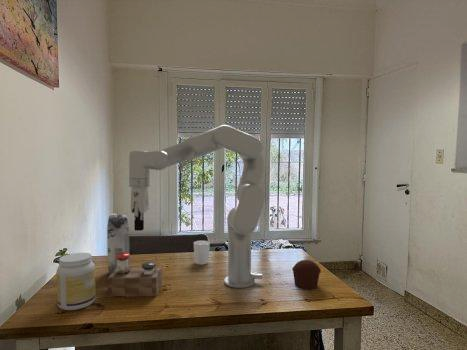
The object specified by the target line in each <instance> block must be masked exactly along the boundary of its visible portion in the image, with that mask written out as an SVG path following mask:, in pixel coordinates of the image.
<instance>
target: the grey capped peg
mask: <svg viewBox="0 0 467 350" xmlns="http://www.w3.org/2000/svg"><path fill="white" fill-rule="evenodd" d="M156 265H157V264H156V262H155V261H145V262H142V263H141V267H142V268H143V271H144V274H154V268H155V267H157V266H156Z"/></svg>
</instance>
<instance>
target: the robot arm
mask: <svg viewBox="0 0 467 350" xmlns="http://www.w3.org/2000/svg"><path fill="white" fill-rule="evenodd" d="M222 149H227V150H229V151H231V152H233V153H236V154H238V156H239V157H240V158H241V159H242V163H243V166H242V172H241V177H240V179H239V183H238V186H237V188H236V194H235V195H236V199H237V200H238V204H237V206H234V207H233V208H231V209H230V211H229V212H228V214H227V220H226V221H227V236H228V237H227V238H228V241H227V243H228V246H227V248H228V249H227V276H225V278H224V280H223V281H224V284H225V285H226V286H227V287H230V288H234V289H245V288H249V287H252V286H253V285H254V284H255V281H256V280H257V279H258V280H263V274H262V273H259V272H253V271H252V233H253V232H254V231H255V230H256V228H257V226H258V224H259V220H260V217H261V215H262V214H261V213H262V211H263V206H264V204H265V191H264V189H263V187H261V185H262V181H263V175H264V171H265V161H264V157H263V155H262V153H263V143H262V141H261V140H260V139H259V138H258V137H257V136H253V135H252V134H249V133H247V132H244V131H242V130H239V129H237V128H235V127H233V126H230V125H227V124H222V125H219V126H217V127H215V128H212V129H210V130H206V131H204V132H202V133H198V134H196V135H193V136H191V137H187V138H186V139H184V140H183V141H181V142H178V143H176V144H174V145H171V146H168V147H166V148H164V149H161V150H152V151H147V150H132V151H130V152H129V157H128V164H129V165H128V167H129V168H128V187H129V188H131V191H130V212H131V213H132V214H133V217H134V221H133V222H134V226H133V228H134V232H135V231H136V232H137V231H144V230H145V227H144V225H145V222H144V221H145V213H146V212H148V211H149V209H150V208H149V207H150V205H149V203H150V202H149V187H150V170H155V171H164V170H166V169H168V167H172V166H174V165H177V164H179V163H182V162H185V161H190V160H194V159H197V158H201V157H203V156H206V155H209V154H212V153H213V152H217V151H219V150H222Z"/></svg>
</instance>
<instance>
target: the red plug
mask: <svg viewBox="0 0 467 350" xmlns="http://www.w3.org/2000/svg"><path fill="white" fill-rule="evenodd" d="M130 257H131V256H130V252H129V253H127V252H122V253H118V254H116V259H117V275H127V274H128V258H129V259H130Z"/></svg>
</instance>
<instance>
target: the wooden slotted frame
mask: <svg viewBox="0 0 467 350" xmlns="http://www.w3.org/2000/svg"><path fill="white" fill-rule="evenodd" d="M106 282H107V284H106V285H107V287H106V288H107V290H106V291H107V298H113V297H112V296H123V297H124V296H126V297H127V298H128V297H129V296H131V297H157V296H158V293H159V291H160V289H161V286H162V284H163V267H162V266H156V267H155V268H154V274H144V271H143V268H142V266H131V267H130V266H129V267H128V274H127V275H117V268H116V269H115V270H114V272H113V273H112V274H111V275H108V277H107V278H106ZM123 297H122V298H123ZM126 297H124V298H126Z"/></svg>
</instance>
